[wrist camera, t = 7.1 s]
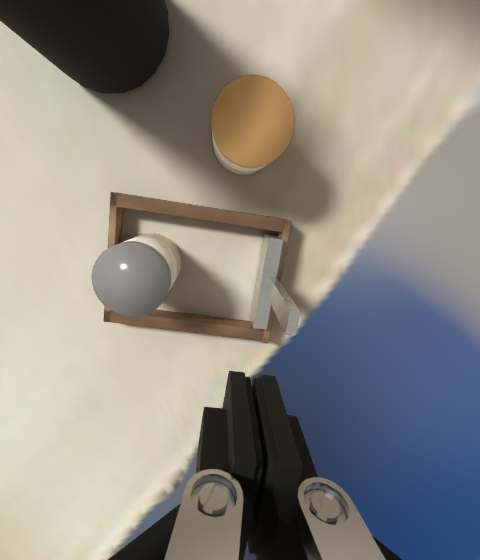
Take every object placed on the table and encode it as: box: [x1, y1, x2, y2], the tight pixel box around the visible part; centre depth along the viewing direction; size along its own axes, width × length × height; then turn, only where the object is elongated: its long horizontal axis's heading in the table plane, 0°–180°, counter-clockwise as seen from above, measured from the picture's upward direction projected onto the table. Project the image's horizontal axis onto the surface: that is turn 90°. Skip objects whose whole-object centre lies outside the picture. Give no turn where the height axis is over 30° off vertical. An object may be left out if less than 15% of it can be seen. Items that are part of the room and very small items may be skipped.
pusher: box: [250, 234, 300, 336], centre depth 27 cm, size 9×1×12 cm, turn 171°
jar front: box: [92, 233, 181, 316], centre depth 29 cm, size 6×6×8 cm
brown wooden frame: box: [104, 192, 291, 343], centre depth 32 cm, size 13×17×2 cm
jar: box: [211, 75, 295, 175], centre depth 26 cm, size 6×6×8 cm
